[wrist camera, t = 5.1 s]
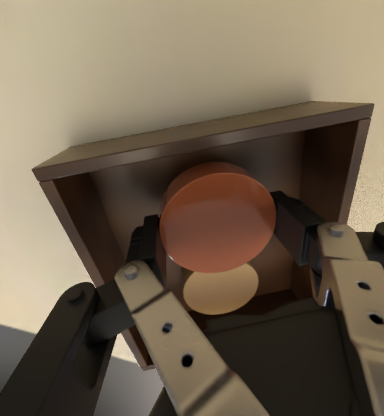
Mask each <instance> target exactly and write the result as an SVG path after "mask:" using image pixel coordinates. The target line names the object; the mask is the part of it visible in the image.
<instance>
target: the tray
mask: <svg viewBox="0 0 384 416" xmlns="http://www.w3.org/2000/svg"><path fill="white" fill-rule="evenodd" d="M373 108H374V104H373V103H347V102H321V101H311V102H306V103H301V104H295V105H290V106H285V107H279V108H274V109H269V110H263V111H258V112H253V113H248V114H242V115H237V116H232V117H226V118H221V119H216V120H210V121H205V122H200V123H195V124H189V125H184V126H179V127H173V128H168V129H163V130H157V131H152V132H147V133H142V134H136V135H131V136H126V137H120V138H115V139H110V140H104V141H99V142H94V143H89V144H83V145H78V146H73V147H70V148H68V149H66V150H64V151H63V152H61V153H59V154H57V155H56V156H54V157H52V158H50V159H49V160H47V161H45V162H43V163H42V164H40V165H38V166H36V167H34V168H33V169H32V171H33V173H34V175H35V177H36V179H37V180H38V181H40V182H39V184H40V186H41V188H42V189H43V191H44V193H45V195H46V197H47V199H48V200H49V202H50V204H51V206H52V208H53V209H54V211H55V213H56V215H57V217H58V219H59V220H60V222H61V224H62V226H63V228H64V230H65V231H66V233H67V235H68V237H69V239H70V241H71V242H72V244H73V246H74V248H75V250H76V251H77V253H78V255H79V257H80V259H81V261H82V262H83V264H84V266H85V268H86V270H87V272H88V273H89V275H90V277H91V279H92V281H93V282H94V284H95V286H96V288H97V287H99V286H101V285H103V284H106V283H108V282H110V281H112V280H113V279H115V274H116V272H117V271H118V269H119V268H120V267H121V266H123V265H124V264H125V263H126V258H127V254H128V249H129V246H130V245H129V244H130V241H131V235H132V232H133V231H134V230H135V229H136V227H139V226H143V224H144V217H145V216H150V215H155V214H158V216H159V211H160V204H161V200H162V197H163V195H164V193H165V191H166V189H167V188H168V186H169V185H170V184H171V183H172V181H173V180H174V179H175V178H177V177H178V176H179V175H180V174H181V173H183V172H184V171H186V170H188V169H190V168H191V167H194V166H197V165H199V164H203V163H208V162H226V163H231V164H234V165H237V166H239V167H242V168H243V169H245V170H246V171H248V172H249V173H250V174H251V175H252V176H253V177H255V178H256V179H257V180H258V181H259V182H260V183H261V184H262V185H263V186H264V187H265V188H266V189H267V190H268V191H269V192H274V191H279V190H281V191H282V192H284V193H285V194H286V195H287V196H288V197H293V198H296V199H298V200H301V201H302V202H303V203H304V204H306V206H308V207H309V208H311V210H313V211H315V212H316V213H317V214H318V215H320V216H321V217H322V218H324V219H325V220H326V221H327V222H339V223H343V224H346V225H347V220H348V216H349V212H350V207H351V203H352V199H353V194H354V190H355V186H356V182H357V177H358V173H359V169H360V164H361V160H362V156H363V151H364V147H365V143H366V138H367V134H368V130H369V125H370V121H371V118H370V117H371V116H372V112H373ZM250 261H251V263H252V265H253V267H254V269H255V271H256V273H257V275H258V280H259V283H258V288H257V291H256V293H255V294H254V296H253V297H252V298H251V299H250V300H249V301H248V302H247V303H246V304H245V305H243V306H242V307H240V308H238V309H236V310H234V311H231V312H228V313H224V314H217V315H210V314H203V313H200V312H197V311H195V310H193V309H192V308H190V307H189V306H188V305H187V303H186V302H185V300H184V297H183V289H182V280H181V273H182V269H183V267H182V266H180V265H179V264H177V263H176V262H174V261H173V260H172V259H171V258H170V257H169V256H168V254H167V253H166V271H167V290H168V289H169V290H170V291H171V292H172V293H173V294H174V295H175V297H176V298H177V299H178V301H179V302H180V303H181V305H182V306H183V307H184V309H185V310H186V311H187V313H188V314H189V315H190V317H191V318H192V319H193V321H194V322H195V323H196V325H197V326H198V327H199V329H200V330H201V331H202V332H203V331H204V330H206V329H207V324H206V320H208V319H213V318H217V317H222V316H227V315H232V314H238V315H264V314H266V313H268V312H270V311H272V310H274V309H276V308H278V307H280V306H282V305H283V304H285V303H288V302H292V301H297V300H302V299H306V298H311V297H313V292H312V285H311V277H310V268H311V266H310V265H309V264H307V265H302V266H299V265H298V264H297V262H296V261H295V260H294V259H293V257H292V256H291V255H290V254H289V252H288V251H287V250H286V249H285V247H284V246H283V245H282V243H281V242H280V241H279V240H278V238H277V237H276V236H275V235H274V233H273V235H272V237H271V239H270V240H269V242H268V244H267V245H266V246H265V248H264V249H263V250H262V251H261V252H260V253H259V254H258V255H257V256H256V257H255V258H253V259H252V260H250ZM121 334H122V335H123V337H124V339H125V341H126V343H127V345H128V346H129V348H130V350H131V352H132V354H133V356H134V357H135V359H136V361H137V363H138V365H139V366H140V368H141V370H142V371H146V370H150V369H154V368H156V367H155V365H154V363H153V361H152V359H151V357H150V354H149V352H148V350H147V348H146V346H145V344H144V342H143V339H142V337H141V335H140V333H139V331H138V329H137V326H136V325H134V326H132V327H130V328H128V329H127V330H125V331H123V332H121Z"/></svg>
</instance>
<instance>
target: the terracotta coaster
mask: <svg viewBox="0 0 384 416" xmlns="http://www.w3.org/2000/svg"><path fill="white" fill-rule="evenodd" d="M275 226H276V207H275V203H274V200H273V198H272V196H271V194H270V193H269V191H268V190H267V189H266V188H265V187H264V186H263V185H262V184H261V183H260V182H259V181H258V180H257V179H256V178H255V177H253V176H252V175H251V174H250V173H249V172H248V171H246V170H245V169H243V168H242V167H239V166H237V165H234V164H231V163H226V162H208V163H203V164H199V165H197V166H194V167H191V168H190V169H188V170H186V171H184V172H183V173H181V174H180V175H179V176H178V177H177V178H175V179H174V180H173V181H172V183H171V184H170V185H169V186H168V188H167V189H166V191H165V193H164V195H163V197H162V200H161V204H160V211H159V234H160V237H161V241H162V245H163V248H164V250H165V252H166V253H167V254H168V256H169V257H170V258H171V259H172V260H173V261H174V262H176V263H177V264H179V265H180V266H182V267H184V268H186V269H189V270H191V271H195V272H201V273H219V272H225V271H229V270H232V269H235V268H237V267H240V266H242V265H244V264H245V263H247V262H249V261H250V260H252V259H253V258H255V257H256V256H257V255H258V254H259V253H260V252H261V251H262V250H263V249H264V248H265V246H266V245H267V244H268V242H269V240H270V239H271V237H272V235H273V232H274V229H275Z"/></svg>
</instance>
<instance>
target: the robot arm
mask: <svg viewBox="0 0 384 416" xmlns="http://www.w3.org/2000/svg"><path fill="white" fill-rule="evenodd" d="M269 193H270V194H271V196H272V198H273V200H274V203H275V207H276V226H275V229H274V232H273V233H274V235H275V236H276V237H277V238H278V240H279V241H280V242H281V243H282V245H283V246H284V247H285V249H286V250H287V251H288V252H289V254H290V255H291V256H292V257H293V259H294V260H295V261H296V262H297V264H298V265H299V266H302V265H307V264H309V265H310V266H311V268H310V277H311V285H312V292H313V297H311V298H306V299H302V300H297V301H292V302H288V303H285V304H283V305H282V306H280V307H278V308H276V309H274V310H272V311H270V312H268V313H266V314H264V315H238V314H232V315H227V316H222V317H217V318H213V319H208V320H206V324H207V329H206V330H204V331H203V332H202V331H201V330H200V329H199V327H198V326H197V325H196V323H195V322H194V321H193V319H192V318H191V317H190V315H189V314H188V313H187V311H186V310H185V309H184V307H183V306H182V305H181V303H180V302H179V301H178V299H177V298H176V297H175V295H174V294H173V293H172V292H171V291H170V290H169V289H168V290H167V271H166V252H165V250H164V248H163V245H162V241H161V237H160V234H159V216H158V214H155V215H150V216H145V217H144V224H143V226H139V227H136V229H135V230H134V231H133V232H132V235H131V241H130V244H129V245H130V246H129V249H128V254H127V258H126V263H125V264H124V265H123V266H121V267H120V268H119V269H118V271H117V272H116V274H115V279H113V280H112V281H110V282H108V283H106V284H103V285H101V286H99V287H97V288H95V287H94V285H93V284H92V283H89V282H83V283H79V284H76V285H74V286H72V287H71V288H69V289H68V290H66V291H65V292H64V293H63V294H62V295H61V297H60V298H59V300H58V301H57V303H56V304H55V306H54V308H53V309H52V311H51V312H50V314H49V316H48V317H47V319H46V321H45V322H44V324H43V325H42V327H41V329H40V330H39V332H38V333H37V335H36V337H35V338H34V340H33V341H32V343H31V345H30V347H29V348H28V349H27V351H26V353H25V354H24V356H23V358H22V359H21V361H20V362H19V364H18V366H17V367H16V369H15V370H14V372H13V373H12V375H11V377H10V378H9V380H8V381H7V383H6V385H5V386H4V388H3V390H2V391H1V393H0V416H93V414H94V410H95V407H96V404H97V401H98V397H99V394H100V391H101V387H102V384H103V380H104V377H105V374H106V370H107V367H108V364H109V360H110V357H111V354H112V350H113V347H114V344H115V340H116V337H117V334H119V333H121V332H123V331H125V330H127V329H128V328H130V327H132V326H134V325H136V326H137V329H138V331H139V333H140V335H141V337H142V339H143V342H144V344H145V346H146V348H147V350H148V352H149V354H150V357H151V359H152V361H153V363H154V365H155V367H156V370H157V372H158V374H159V376H160V378H161V380H162V382H163V384H164V387H163V389H162V391H161V393H160V395H159V397H158V399H157V401H156V403H155V405H154V407H153V409H152V411H151V412H150V414H149V416H384V222H381V223H378V224H377V225H376V228H375V231H374V232H355V231H354V229H353V228H351V227H350V226H348V225H346V224H343V223H339V222H327V221H326V220H325V219H324V218H322V217H321V216H320V215H318V214H317V213H316V212H315V211H313V210H311V208H309V207H308V206H306V204H304V203H303V202H302V201H301V200H298V199H296V198H293V197H288V196H287V195H286V194H285V193H284V192H282V191H281V190H279V191H274V192H269Z"/></svg>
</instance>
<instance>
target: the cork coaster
mask: <svg viewBox="0 0 384 416" xmlns="http://www.w3.org/2000/svg"><path fill="white" fill-rule="evenodd" d="M181 280H182V289H183V297H184V300H185V302H186V303H187V305H188V306H189V307H190V308H192V309H193V310H195V311H197V312H200V313H203V314H210V315H217V314H224V313H228V312H231V311H234V310H236V309H238V308H240V307H242V306H243V305H245V304H246V303H247V302H248V301H249V300H250V299H251V298H252V297H253V296H254V294H255V293H256V291H257V288H258V283H259V280H258V275H257V273H256V271H255V269H254V267H253V265H252V263H251V261H249V262H247V263H245V264H244V265H242V266H240V267H237V268H235V269H232V270H229V271H225V272H219V273H201V272H195V271H191V270H189V269H186V268H184V267H183V269H182V273H181Z"/></svg>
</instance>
